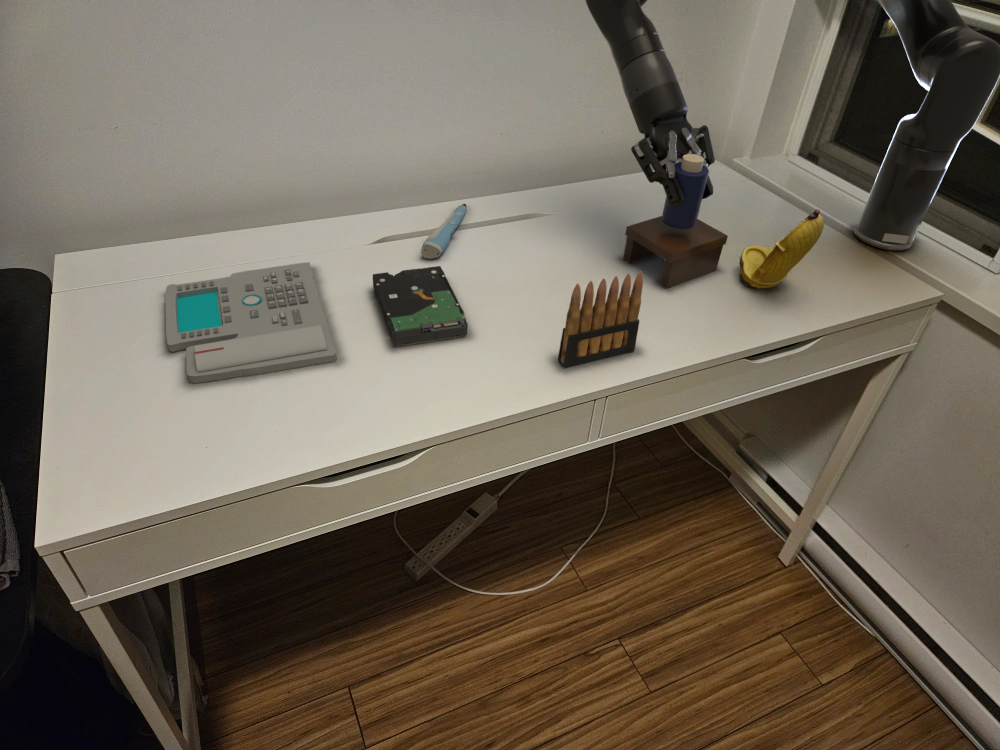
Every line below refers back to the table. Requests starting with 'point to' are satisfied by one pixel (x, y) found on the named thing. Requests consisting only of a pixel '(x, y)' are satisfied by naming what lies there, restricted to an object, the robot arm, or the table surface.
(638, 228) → the brown wooden stand
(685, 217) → the bottle
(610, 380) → the table surface
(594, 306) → the ammunition clip
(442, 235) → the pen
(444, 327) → the disk drive
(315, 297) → the office telephone
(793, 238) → the shrine
